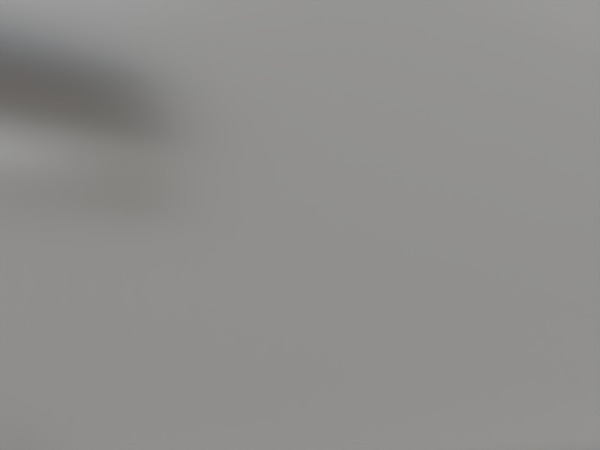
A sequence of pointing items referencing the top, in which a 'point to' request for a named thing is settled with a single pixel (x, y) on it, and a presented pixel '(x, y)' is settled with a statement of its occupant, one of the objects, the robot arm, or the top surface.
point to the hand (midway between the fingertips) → (430, 328)
